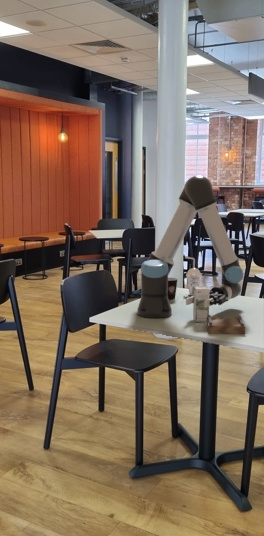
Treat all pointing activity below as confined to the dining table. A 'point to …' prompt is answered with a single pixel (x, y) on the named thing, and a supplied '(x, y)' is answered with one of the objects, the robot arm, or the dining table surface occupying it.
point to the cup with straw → (193, 277)
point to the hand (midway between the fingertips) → (195, 303)
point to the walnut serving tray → (225, 325)
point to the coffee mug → (172, 288)
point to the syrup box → (200, 303)
